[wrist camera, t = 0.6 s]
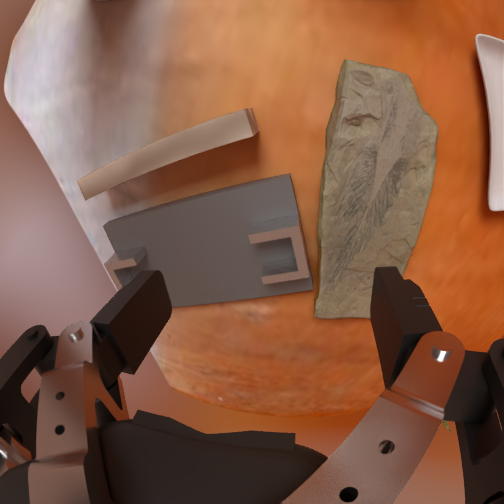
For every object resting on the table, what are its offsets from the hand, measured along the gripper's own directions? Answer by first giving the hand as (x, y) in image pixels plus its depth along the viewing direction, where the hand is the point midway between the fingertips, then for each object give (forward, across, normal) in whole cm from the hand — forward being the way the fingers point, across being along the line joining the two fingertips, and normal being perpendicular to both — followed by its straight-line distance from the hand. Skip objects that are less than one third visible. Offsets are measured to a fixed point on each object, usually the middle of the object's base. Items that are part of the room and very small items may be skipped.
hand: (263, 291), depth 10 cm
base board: (+21, +11, +8) cm, 25 cm away
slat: (+20, +13, -5) cm, 24 cm away
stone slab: (+22, -9, +3) cm, 24 cm away
